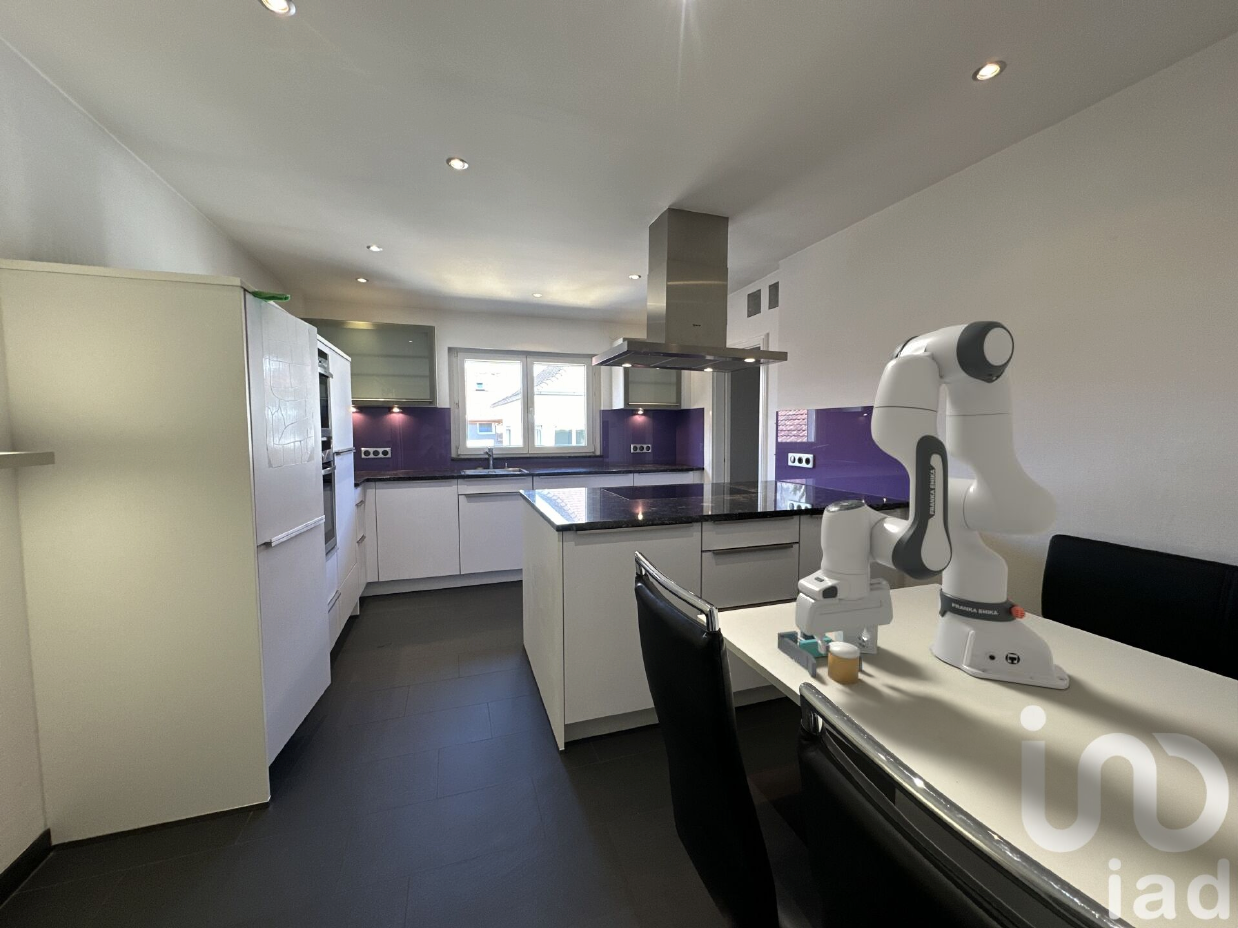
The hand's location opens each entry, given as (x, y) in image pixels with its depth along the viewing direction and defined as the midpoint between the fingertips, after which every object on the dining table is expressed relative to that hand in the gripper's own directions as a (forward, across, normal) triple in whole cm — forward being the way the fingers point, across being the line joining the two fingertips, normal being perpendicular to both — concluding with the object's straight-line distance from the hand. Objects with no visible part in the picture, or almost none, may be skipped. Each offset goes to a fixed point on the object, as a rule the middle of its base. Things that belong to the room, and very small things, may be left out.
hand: (844, 649), depth 94 cm
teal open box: (+5, +1, -11) cm, 12 cm away
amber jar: (+5, +1, +1) cm, 5 cm away
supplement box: (+6, -11, -11) cm, 17 cm away
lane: (+5, +1, -7) cm, 9 cm away
